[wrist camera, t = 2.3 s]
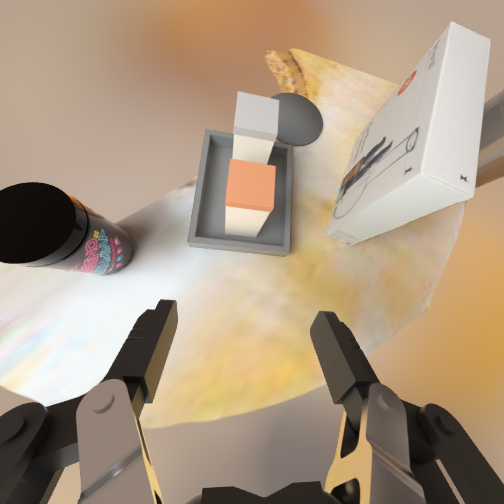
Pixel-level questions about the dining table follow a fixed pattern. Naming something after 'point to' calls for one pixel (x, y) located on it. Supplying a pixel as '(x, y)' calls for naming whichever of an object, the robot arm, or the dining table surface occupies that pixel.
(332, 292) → the dining table surface
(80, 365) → the dining table surface
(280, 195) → the parts tray
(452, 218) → the dining table surface
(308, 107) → the slate mat
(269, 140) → the white lid box
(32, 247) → the supplement container
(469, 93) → the skincare box
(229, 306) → the dining table surface
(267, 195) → the rust lid box
